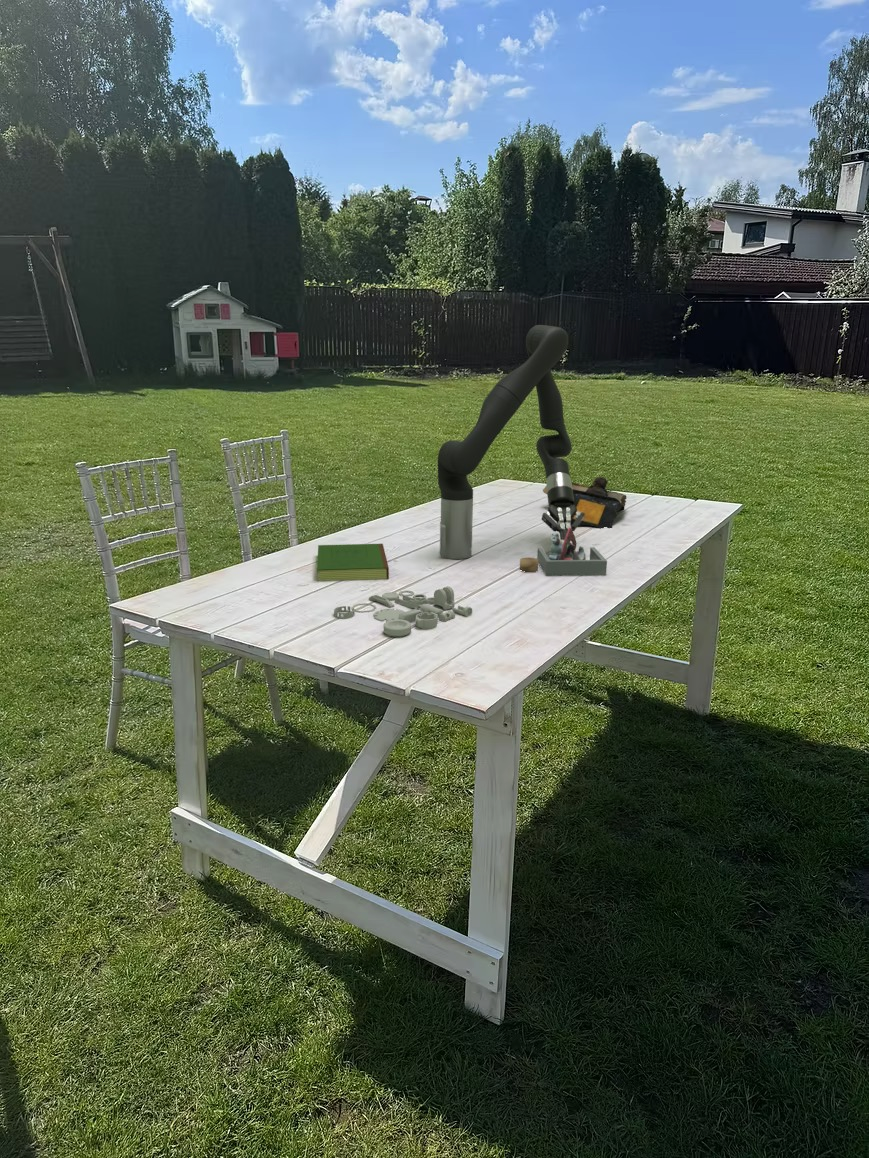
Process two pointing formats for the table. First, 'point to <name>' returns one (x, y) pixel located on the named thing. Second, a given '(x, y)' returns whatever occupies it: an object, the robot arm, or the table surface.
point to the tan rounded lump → (529, 564)
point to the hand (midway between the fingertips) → (566, 542)
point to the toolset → (596, 503)
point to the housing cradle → (573, 565)
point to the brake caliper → (566, 548)
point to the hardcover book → (352, 562)
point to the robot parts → (401, 620)
